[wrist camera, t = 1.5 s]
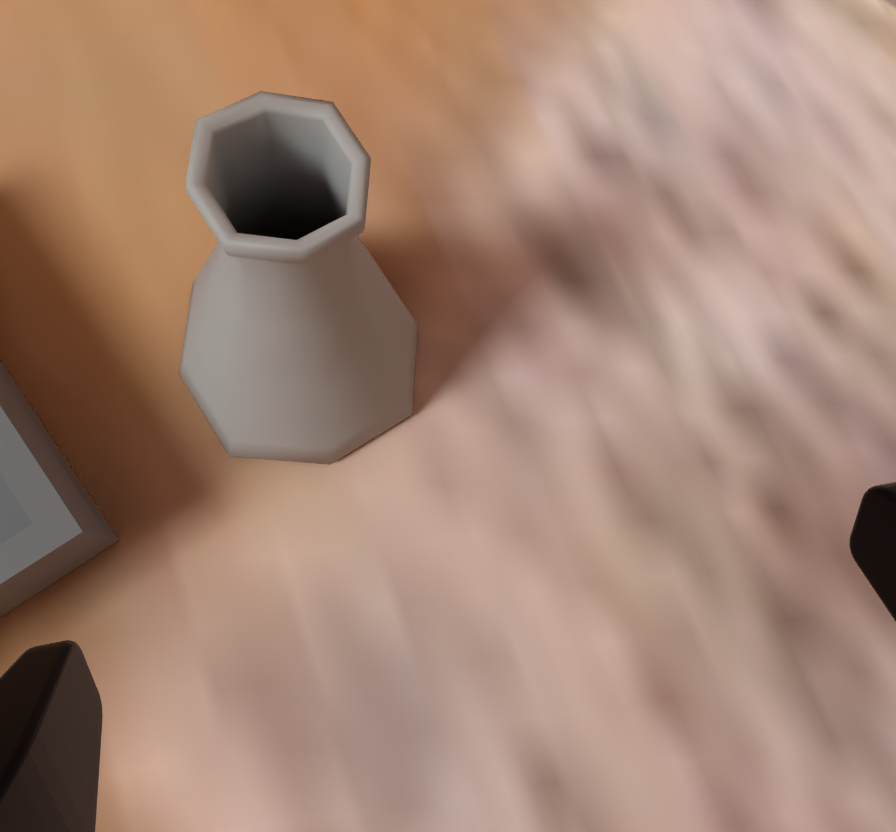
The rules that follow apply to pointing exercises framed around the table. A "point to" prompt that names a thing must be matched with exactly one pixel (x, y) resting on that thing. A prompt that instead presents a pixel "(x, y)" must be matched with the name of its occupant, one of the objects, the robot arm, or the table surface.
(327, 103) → the flask
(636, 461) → the table surface
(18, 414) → the box
